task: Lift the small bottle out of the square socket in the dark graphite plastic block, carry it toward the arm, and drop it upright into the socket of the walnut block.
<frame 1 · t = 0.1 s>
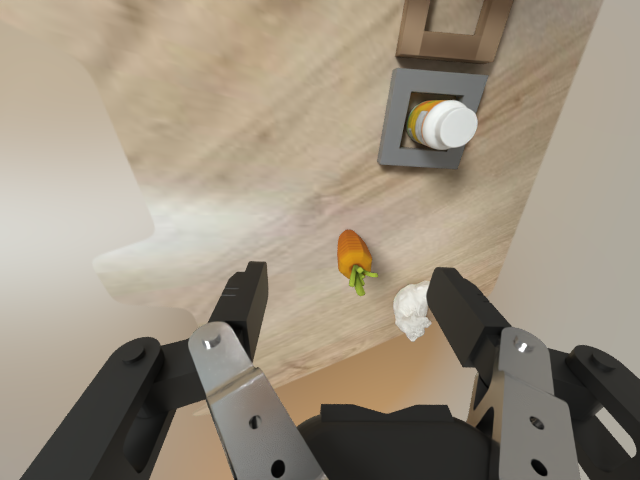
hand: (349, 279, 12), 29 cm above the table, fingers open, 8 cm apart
supplement bottle: (423, 122, 35), resting in socket 1
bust: (405, 293, 51), on the table
socket 1: (424, 122, 35), on the table
carrot: (346, 230, 43), on the table
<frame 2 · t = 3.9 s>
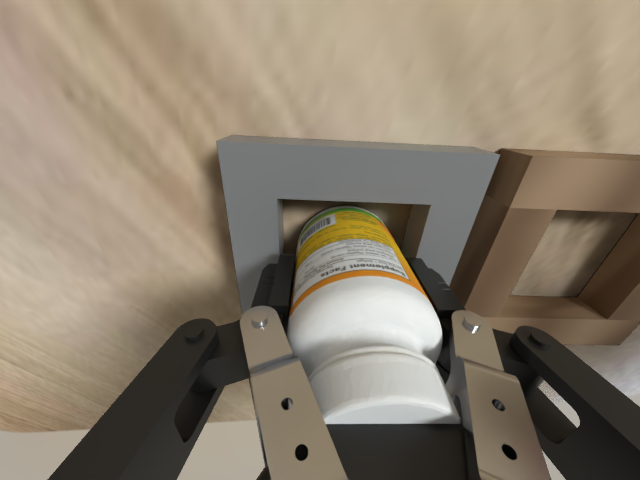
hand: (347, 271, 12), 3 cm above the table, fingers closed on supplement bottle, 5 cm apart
supplement bottle: (342, 244, 15), resting in socket 1, touching gripper
socket 2: (554, 252, 15), on the table
socket 1: (343, 245, 15), on the table
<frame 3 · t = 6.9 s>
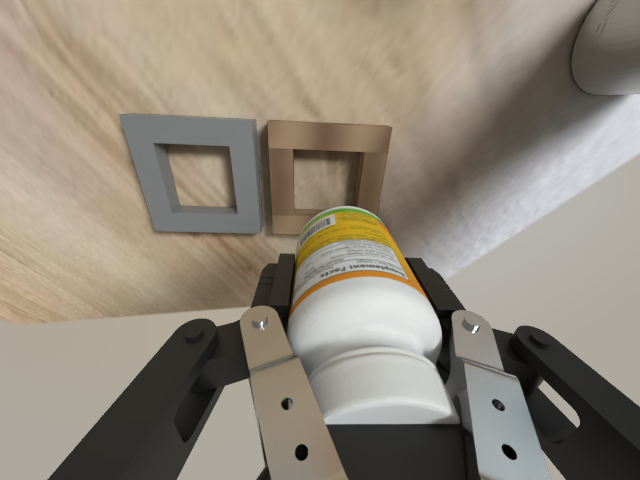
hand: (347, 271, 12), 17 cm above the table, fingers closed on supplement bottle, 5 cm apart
supplement bottle: (342, 244, 15), point 14 cm above the table, touching gripper
socket 2: (325, 180, 27), on the table
socket 1: (205, 176, 27), on the table
when the fingers open (4 cm above the table, at t = 10.4 s): supplement bottle drops 1 cm, resting in socket 2.
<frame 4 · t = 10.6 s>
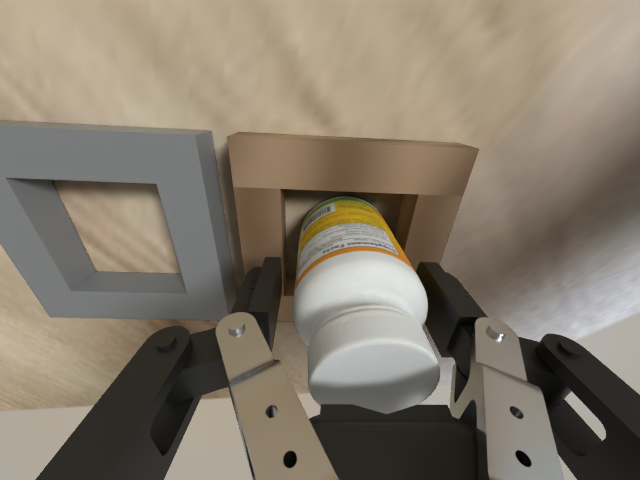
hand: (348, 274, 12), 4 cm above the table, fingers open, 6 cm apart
supplement bottle: (342, 232, 16), resting in socket 2
socket 2: (340, 234, 16), on the table
socket 1: (132, 227, 15), on the table
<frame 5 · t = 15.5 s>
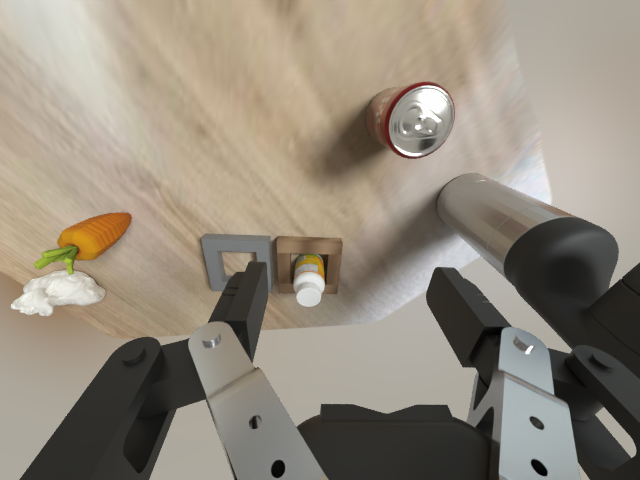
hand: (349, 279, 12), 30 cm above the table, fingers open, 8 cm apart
supplement bottle: (309, 262, 48), resting in socket 2
socket 2: (309, 263, 48), on the table
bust: (80, 277, 49), on the table
soda can: (389, 117, 36), on the table
socket 1: (241, 261, 47), on the table
carrot: (130, 214, 42), on the table
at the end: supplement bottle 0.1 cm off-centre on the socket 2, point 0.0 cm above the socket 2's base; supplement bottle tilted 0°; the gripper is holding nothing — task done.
